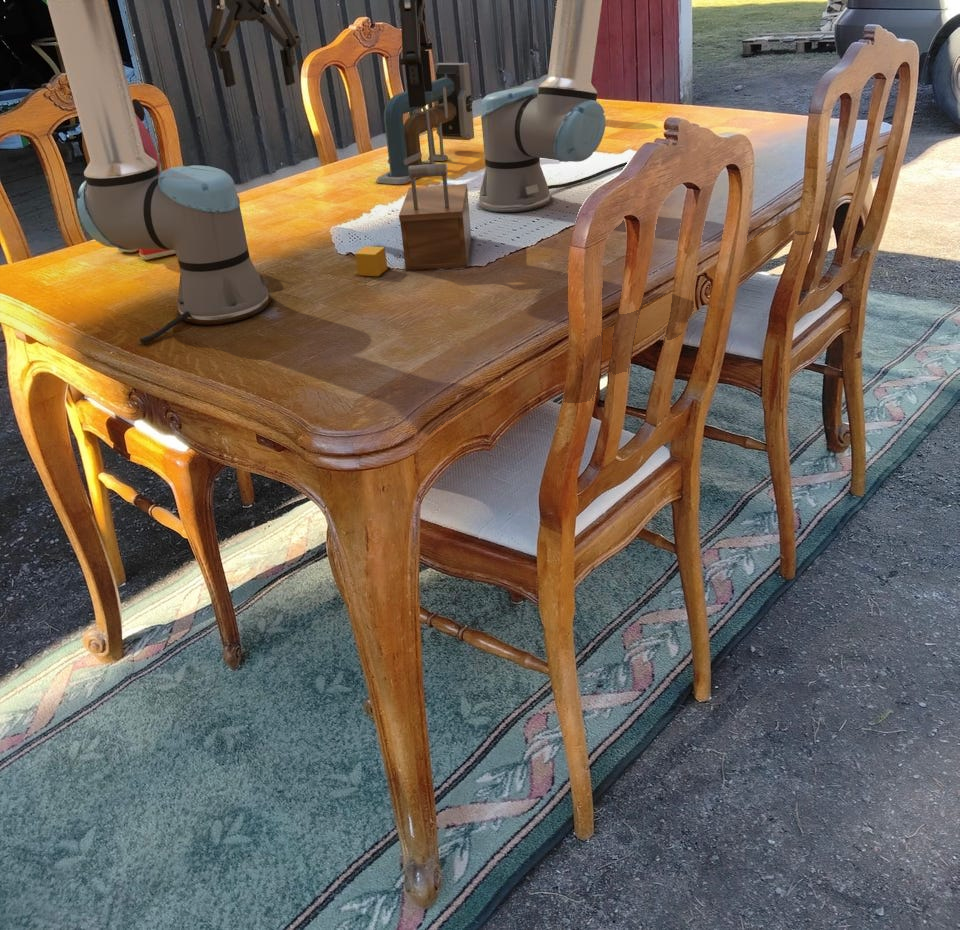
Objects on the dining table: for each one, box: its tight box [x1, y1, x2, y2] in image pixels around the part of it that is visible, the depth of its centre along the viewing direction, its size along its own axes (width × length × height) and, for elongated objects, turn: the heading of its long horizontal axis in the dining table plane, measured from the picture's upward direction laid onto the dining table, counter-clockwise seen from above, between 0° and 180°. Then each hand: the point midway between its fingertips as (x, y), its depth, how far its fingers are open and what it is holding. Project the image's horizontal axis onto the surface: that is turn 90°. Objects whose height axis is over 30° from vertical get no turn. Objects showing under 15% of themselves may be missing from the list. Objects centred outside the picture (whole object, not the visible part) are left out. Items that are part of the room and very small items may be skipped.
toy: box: [81, 98, 176, 260], centre depth 191 cm, size 21×10×30 cm, turn 47°
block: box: [354, 245, 388, 277], centre depth 176 cm, size 4×4×4 cm
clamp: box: [375, 62, 475, 185], centre depth 238 cm, size 35×9×21 cm, turn 151°
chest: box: [399, 190, 472, 271], centre depth 181 cm, size 17×11×9 cm, turn 178°
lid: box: [398, 163, 468, 222], centre depth 176 cm, size 18×11×9 cm, turn 178°
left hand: (260, 85), depth 196 cm, fingers open, 13 cm apart
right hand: (421, 99), depth 163 cm, fingers open, 13 cm apart
